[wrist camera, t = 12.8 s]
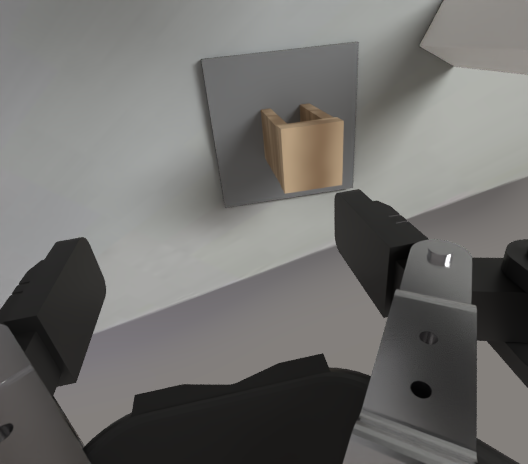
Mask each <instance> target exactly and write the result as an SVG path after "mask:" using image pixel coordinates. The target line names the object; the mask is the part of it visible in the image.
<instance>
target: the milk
mask: <svg viewBox="0 0 528 464" xmlns="http://www.w3.org/2000/svg"><path fill="white" fill-rule="evenodd" d="M419 46H420V47H422V48H423V49H425V50H427V51H428V52H430V53H432V54H434V55H435V56H437V57H439V58H440V59H442V60H444V61H446V62H447V63H449V64H451V65H452V66H454V67H462V68H471V69H480V70H489V71H498V72H507V73H516V74H525V75H528V0H444V1H443V2H442V4H441V6H440V8H439V10H438V12H437V14H436V15H435V17H434V19H433V21H432V23H431V25H430V27H429V28H428V30H427V32H426V34H425V36H424V38H423V40H422V41H421V43H420V45H419Z"/></svg>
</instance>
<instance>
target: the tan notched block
mask: <svg viewBox="0 0 528 464" xmlns="http://www.w3.org/2000/svg"><path fill="white" fill-rule="evenodd" d="M261 119H262V130H263V141H264V152H265V159H266V161H267V162H268V164H269V166H270V168H271V169H272V171H273V173H274V174H275V176H276V178H277V179H278V181H279V183H280V185H281V188H282V190H283V191H284V193H285V194H286V193H293V192H299V191H306V190H312V189H319V188H325V187H332V186H338V185H342V173H343V132H344V121H343V120H341V119H340V118H338V117H332V116H331V115H329V114H327V113H325V112H324V111H322V110H320V109H318V108H317V107H315V106H313V105H311V104H310V103H309V104H301V105H300V122H296V123H288V124H287V123H286V122H285V121H284V120H283V119H281V118H280V117H279V116H278V115H277V114H276V113H275V112H274V111H273V110H272V109H271V108H269V109H262V110H261Z"/></svg>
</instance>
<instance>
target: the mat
mask: <svg viewBox="0 0 528 464" xmlns="http://www.w3.org/2000/svg"><path fill="white" fill-rule="evenodd" d="M358 44H359V42H350V43H342V44H333V45H324V46H315V47H306V48H297V49H288V50H279V51H270V52H261V53H252V54H243V55H234V56H225V57H216V58H207V59H201V62H202V68H203V74H204V80H205V87H206V93H207V99H208V105H209V111H210V117H211V124H212V130H213V136H214V142H215V148H216V154H217V160H218V167H219V173H220V179H221V185H222V191H223V197H224V203H225V208H227V207H234V206H240V205H246V204H253V203H259V202H265V201H272V200H278V199H284V198H291V197H297V196H304V195H310V194H316V193H323V192H329V191H335V190H342V189H348V188H353V173H354V147H355V121H356V95H357V70H358ZM309 103H310V104H311V105H313V106H315V107H317V108H318V109H320V110H322V111H324V112H325V113H327V114H329V115H331V116H332V117H338V118H340V119H341V120H343V121H344V132H343V173H342V185H338V186H332V187H325V188H319V189H312V190H306V191H299V192H293V193H286V194H285V193H284V191H283V190H282V188H281V185H280V183H279V181H278V179H277V178H276V176H275V174H274V173H273V171H272V169H271V168H270V166H269V164H268V162H267V161H266V159H265V152H264V141H263V130H262V119H261V110H262V109H269V108H271V109H272V110H273V111H274V112H275V113H276V114H277V115H278V116H279V117H280V118H281V119H283V120H284V121H285V122H286V123H287V124H288V123H296V122H300V105H301V104H309Z"/></svg>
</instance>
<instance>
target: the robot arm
mask: <svg viewBox="0 0 528 464" xmlns="http://www.w3.org/2000/svg"><path fill="white" fill-rule="evenodd" d="M335 241H336V245H337V248H338V250H339V252H340V254H341V255H342V257H343V258H344V260H345V261H346V263H347V264H348V266H349V267H350V268H351V270H352V271H353V273H354V275H355V276H356V277H357V279H358V281H359V282H360V283H361V285H362V286H363V288H364V289H365V291H366V292H367V294H368V295H369V297H370V298H371V300H372V301H373V303H374V304H375V306H376V307H377V309H378V310H379V312H380V313H381V314H382V316H383V317H384V318H385V317H388V319H387V322H386V326H385V330H384V333H383V337H382V340H381V343H380V347H379V351H378V354H377V358H376V361H375V364H374V368H373V371H372V375H371V376H369V375H366V374H363V373H360V372H357V371H352V370H348V369H341V368H329V367H328V365H327V362H326V360H325V357H324V355H323V354H318V355H314V356H309V357H305V358H300V359H296V360H291V361H287V362H282V363H278V364H276V365H274V366H272V367H270V368H268V369H265V370H263V371H261V372H259V373H257V374H255V375H253V376H251V377H248V378H246V379H244V380H242V381H240V382H238V383H235V384H231V385H190V384H184V385H178V386H174V387H169V388H165V389H160V390H156V391H151V392H147V393H142V394H137V395H135V397H134V403H133V409H132V413H130V414H128V415H126V416H124V417H122V418H121V419H119V420H117V421H116V422H114V423H112V424H111V425H110V426H108V427H107V428H105V429H104V430H103V431H101V432H100V433H99V434H98V435H96V436H95V437H94V438H93V439H92V440H91V441H90V442H89V443H88V444H87V445H86V446H85V445H84V444H83V442H82V441H81V439H80V438H79V436H78V434H77V433H76V431H75V430H74V428H73V426H72V425H71V423H70V422H69V420H68V418H67V417H66V415H65V413H64V412H63V410H62V409H61V407H60V406H59V404H58V402H57V401H56V399H55V398H54V396H53V395H54V392H55V390H56V387H58V386H63V385H68V384H72V383H76V381H77V378H78V376H79V373H80V370H81V367H82V364H83V361H84V358H85V355H86V352H87V349H88V346H89V343H90V340H91V337H92V334H93V331H94V328H95V325H96V323H97V320H98V317H99V314H100V311H101V308H102V305H103V302H104V299H105V295H106V285H105V280H104V277H103V275H102V272H101V270H100V268H99V265H98V263H97V261H96V258H95V256H94V254H93V251H92V249H91V246H90V244H89V242H88V241H87V239H85V238H84V237H81V238H75V239H70V240H64V241H58V242H56V243H55V245H54V246H53V248H52V249H51V250H50V252H49V253H48V255H47V256H46V258H45V259H44V260H41V261H40V262H39V263H38V264H36V265H35V266H34V267H32V268H31V269H30V270H29V271H27V273H26V274H25V275H24V277H23V278H22V280H21V281H20V283H19V285H18V286H17V287H16V288H15V290H14V291H13V292H12V295H11V296H10V297H9V298H8V300H7V301H6V302H5V304H4V305H3V307H2V308H1V309H0V464H519V463H518V462H516V461H514V460H513V459H511V458H509V457H508V456H506V455H504V454H503V453H501V452H499V451H497V450H496V449H494V448H492V447H491V446H489V445H488V444H486V443H484V442H482V441H481V440H479V439H477V438H476V417H477V414H476V413H477V408H476V407H477V394H476V393H477V385H476V384H477V340H479V341H487V342H488V343H489V344H490V345H491V346H492V347H493V349H494V350H495V351H496V352H497V353H498V354H499V355H500V357H501V358H502V359H503V360H504V361H505V362H506V363H507V365H508V366H509V367H510V368H511V369H512V370H513V372H514V373H515V374H516V375H517V376H518V377H519V378H520V379H521V380H522V382H523V383H524V384H525V385H526V386H527V387H528V239H527V240H526V239H524V240H517V241H514V242H511V243H510V244H509V245H508V246H507V248H506V251H505V255H504V258H472V256H471V254H470V253H469V251H468V250H466V249H465V248H463V247H462V246H460V245H458V244H456V243H453V242H450V241H445V240H438V239H436V240H435V239H431V240H429V239H428V238H427V237H426V236H425V235H423V234H422V233H421V232H420V231H419V230H418V229H416V228H415V227H414V226H413V225H412V224H411V223H409V222H407V220H406V219H405V218H404V217H402V216H401V215H399V213H398V212H397V211H395V210H394V209H393V208H392V207H391V206H389V205H386V204H384V203H381V202H379V201H372V200H371V199H370V198H368V197H367V196H366V195H365V194H364V193H363V192H362V191H361V190H359V189H357V190H352V191H346V192H340V193H337V194H336V195H335Z"/></svg>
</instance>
